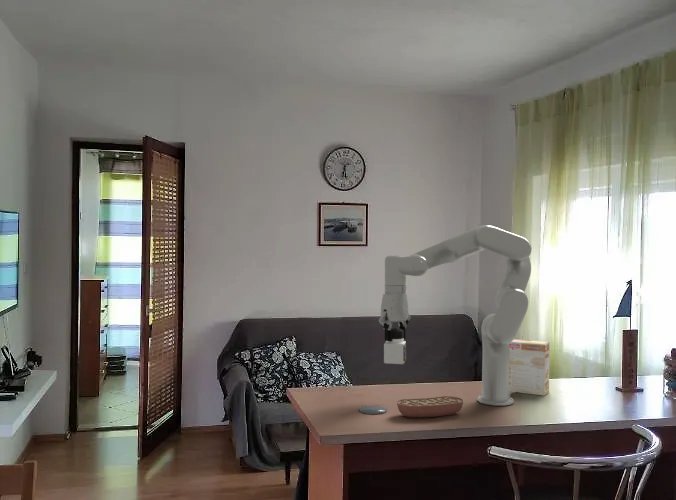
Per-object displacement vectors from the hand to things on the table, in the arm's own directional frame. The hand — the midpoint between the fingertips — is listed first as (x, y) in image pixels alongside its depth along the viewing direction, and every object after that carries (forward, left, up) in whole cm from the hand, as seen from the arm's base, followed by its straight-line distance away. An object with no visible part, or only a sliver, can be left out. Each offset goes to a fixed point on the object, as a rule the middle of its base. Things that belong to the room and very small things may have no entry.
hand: (395, 339), depth 234 cm
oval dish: (+4, +20, -23) cm, 31 cm away
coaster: (+15, +4, -22) cm, 27 cm away
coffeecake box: (-49, +23, -23) cm, 59 cm away
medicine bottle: (0, 0, -8) cm, 8 cm away
